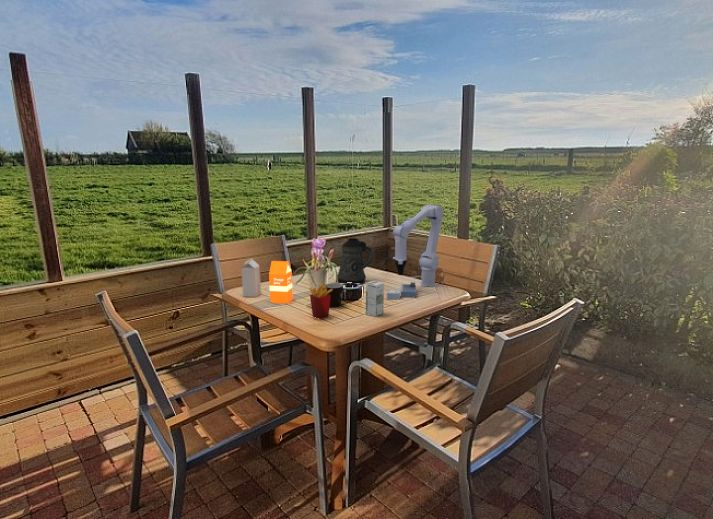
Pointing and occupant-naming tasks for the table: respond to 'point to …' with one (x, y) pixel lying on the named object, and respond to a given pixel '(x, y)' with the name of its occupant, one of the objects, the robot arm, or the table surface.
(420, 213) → the robot arm
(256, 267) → the milk carton
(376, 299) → the syrup box
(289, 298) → the orange juice
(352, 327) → the table surface
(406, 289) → the network switch box
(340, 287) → the coffee mug
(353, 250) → the beer stein
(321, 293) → the french fries
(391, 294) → the light blue box
